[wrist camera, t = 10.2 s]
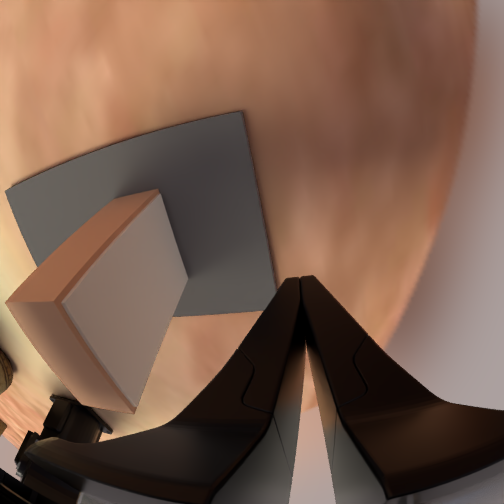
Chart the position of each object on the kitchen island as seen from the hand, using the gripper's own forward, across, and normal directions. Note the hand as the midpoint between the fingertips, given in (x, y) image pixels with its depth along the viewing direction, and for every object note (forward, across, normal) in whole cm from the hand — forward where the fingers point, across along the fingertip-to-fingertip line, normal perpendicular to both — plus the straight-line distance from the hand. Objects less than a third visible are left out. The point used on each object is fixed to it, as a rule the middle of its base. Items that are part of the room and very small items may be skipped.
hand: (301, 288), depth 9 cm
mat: (+6, +9, 0) cm, 10 cm away
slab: (+5, +7, 0) cm, 9 cm away
